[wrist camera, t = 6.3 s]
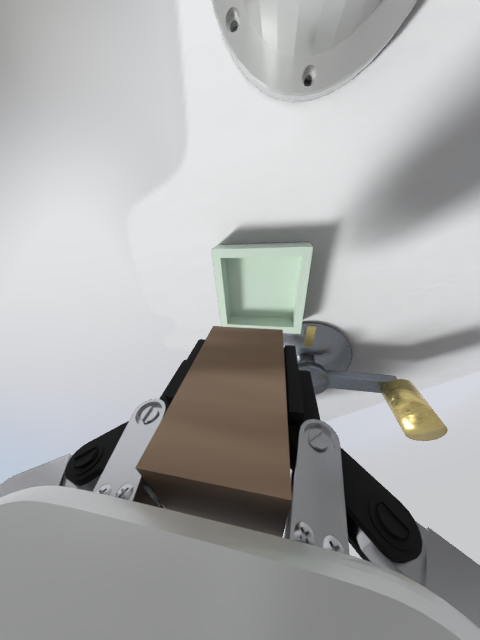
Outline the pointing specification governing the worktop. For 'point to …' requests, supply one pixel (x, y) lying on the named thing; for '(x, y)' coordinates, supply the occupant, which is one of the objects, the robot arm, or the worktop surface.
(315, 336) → the crank base
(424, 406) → the crank
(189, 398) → the block
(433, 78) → the worktop surface
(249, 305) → the tray
